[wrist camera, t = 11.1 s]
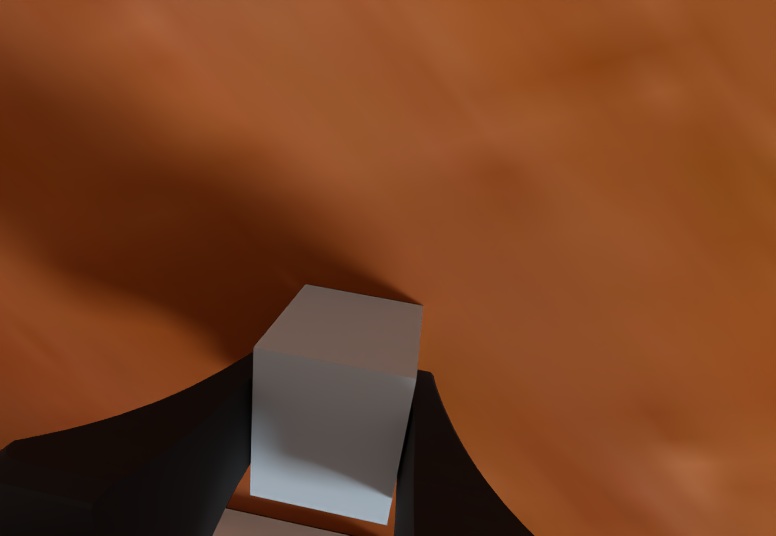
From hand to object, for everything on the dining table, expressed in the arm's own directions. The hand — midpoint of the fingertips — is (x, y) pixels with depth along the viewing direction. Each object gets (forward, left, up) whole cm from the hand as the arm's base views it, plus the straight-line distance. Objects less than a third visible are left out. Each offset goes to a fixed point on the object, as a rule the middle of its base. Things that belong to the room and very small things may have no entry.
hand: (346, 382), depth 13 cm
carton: (0, 0, -1) cm, 1 cm away
